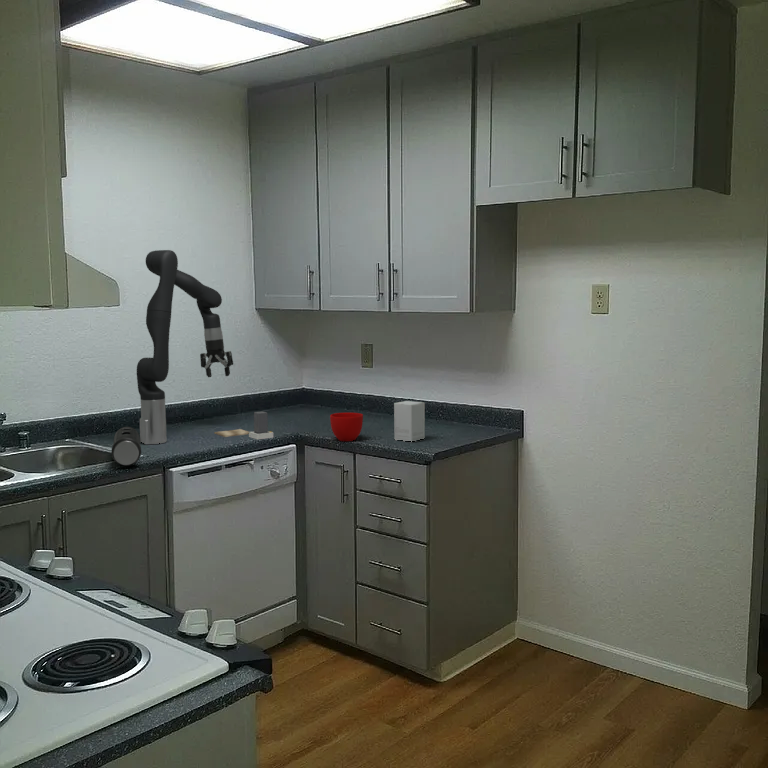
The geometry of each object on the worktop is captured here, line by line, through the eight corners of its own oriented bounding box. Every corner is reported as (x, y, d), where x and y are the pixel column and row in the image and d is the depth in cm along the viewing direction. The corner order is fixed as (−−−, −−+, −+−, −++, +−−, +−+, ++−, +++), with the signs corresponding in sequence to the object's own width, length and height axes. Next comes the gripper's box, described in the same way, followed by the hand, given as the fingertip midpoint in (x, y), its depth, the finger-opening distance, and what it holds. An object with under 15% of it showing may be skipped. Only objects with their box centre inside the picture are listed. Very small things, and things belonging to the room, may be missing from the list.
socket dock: (257, 440, 323) (257, 433, 322) (249, 438, 329) (248, 431, 328) (273, 438, 327) (273, 432, 327) (265, 436, 333) (264, 429, 332)
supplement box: (425, 439, 324) (425, 402, 322) (411, 442, 317) (411, 404, 315) (407, 437, 329) (407, 400, 328) (393, 440, 323) (393, 402, 321)
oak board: (224, 438, 329) (224, 435, 329) (214, 434, 337) (214, 432, 337) (251, 434, 336) (251, 432, 336) (240, 431, 344) (240, 429, 344)
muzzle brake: (141, 452, 301) (140, 425, 300) (141, 468, 274) (140, 438, 273) (113, 454, 298) (112, 426, 297) (111, 470, 271) (110, 440, 270)
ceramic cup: (373, 436, 330) (373, 412, 329) (353, 444, 315) (352, 418, 314) (345, 434, 336) (345, 410, 335) (324, 441, 321) (323, 416, 320)
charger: (258, 438, 325) (258, 413, 324) (254, 437, 328) (253, 412, 327) (267, 437, 327) (267, 412, 326) (263, 435, 330) (262, 411, 329)
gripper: (194, 340, 345) (199, 378, 347) (224, 338, 341) (229, 376, 343) (203, 339, 352) (208, 376, 354) (233, 336, 348) (237, 374, 350)
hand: (218, 376), depth 349 cm, fingers open, 8 cm apart
